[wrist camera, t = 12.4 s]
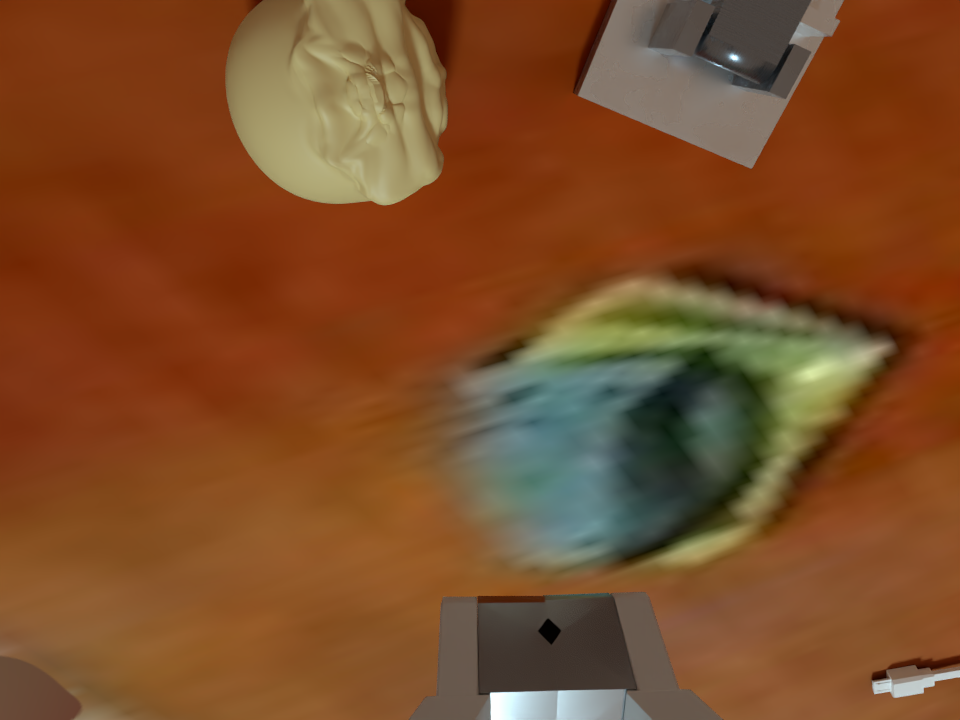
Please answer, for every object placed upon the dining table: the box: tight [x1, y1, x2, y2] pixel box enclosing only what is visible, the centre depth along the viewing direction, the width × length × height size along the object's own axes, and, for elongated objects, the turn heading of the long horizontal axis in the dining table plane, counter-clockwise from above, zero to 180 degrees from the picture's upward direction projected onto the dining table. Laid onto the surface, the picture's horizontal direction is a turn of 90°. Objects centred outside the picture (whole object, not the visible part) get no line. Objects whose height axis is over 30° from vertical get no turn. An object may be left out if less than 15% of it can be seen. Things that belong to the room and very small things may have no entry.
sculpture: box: [226, 0, 448, 205], centre depth 36 cm, size 12×12×11 cm
